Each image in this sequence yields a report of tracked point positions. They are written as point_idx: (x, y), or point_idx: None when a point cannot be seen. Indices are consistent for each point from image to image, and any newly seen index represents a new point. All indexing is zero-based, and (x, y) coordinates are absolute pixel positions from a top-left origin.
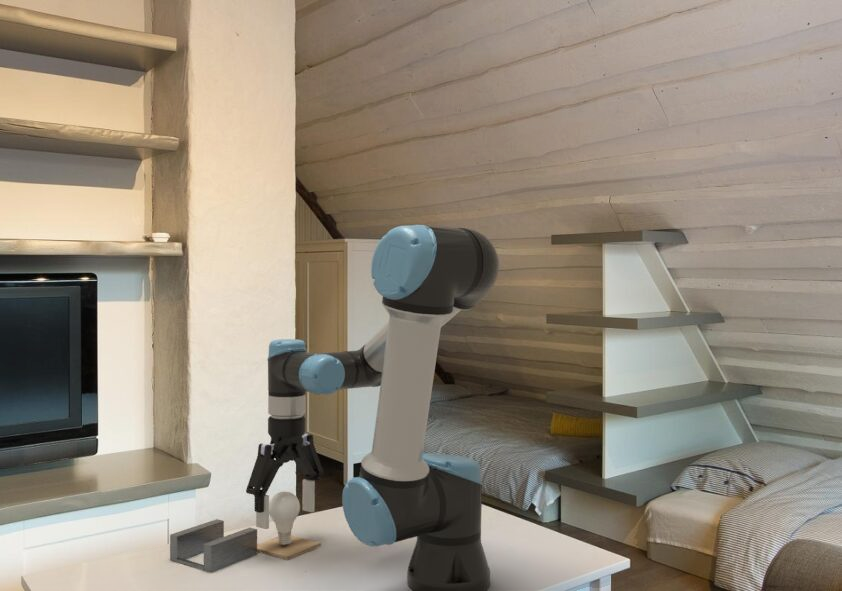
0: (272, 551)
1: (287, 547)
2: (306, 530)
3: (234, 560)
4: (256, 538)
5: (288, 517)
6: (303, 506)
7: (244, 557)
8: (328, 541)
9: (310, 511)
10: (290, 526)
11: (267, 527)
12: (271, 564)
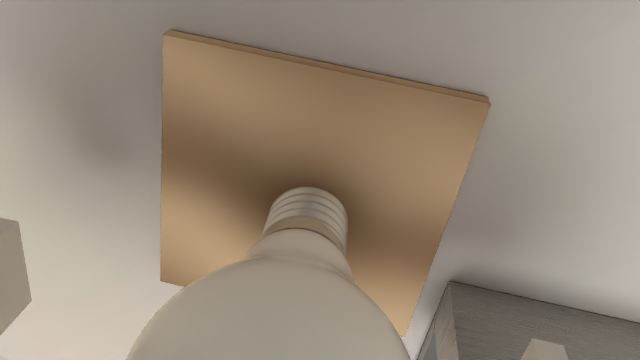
0: (428, 224)
1: (334, 181)
2: (28, 221)
3: (613, 327)
4: (463, 347)
5: (367, 298)
6: (10, 314)
7: (540, 307)
8: (79, 25)
9: (17, 238)
10: (307, 245)
11: (549, 350)
12: (586, 148)
